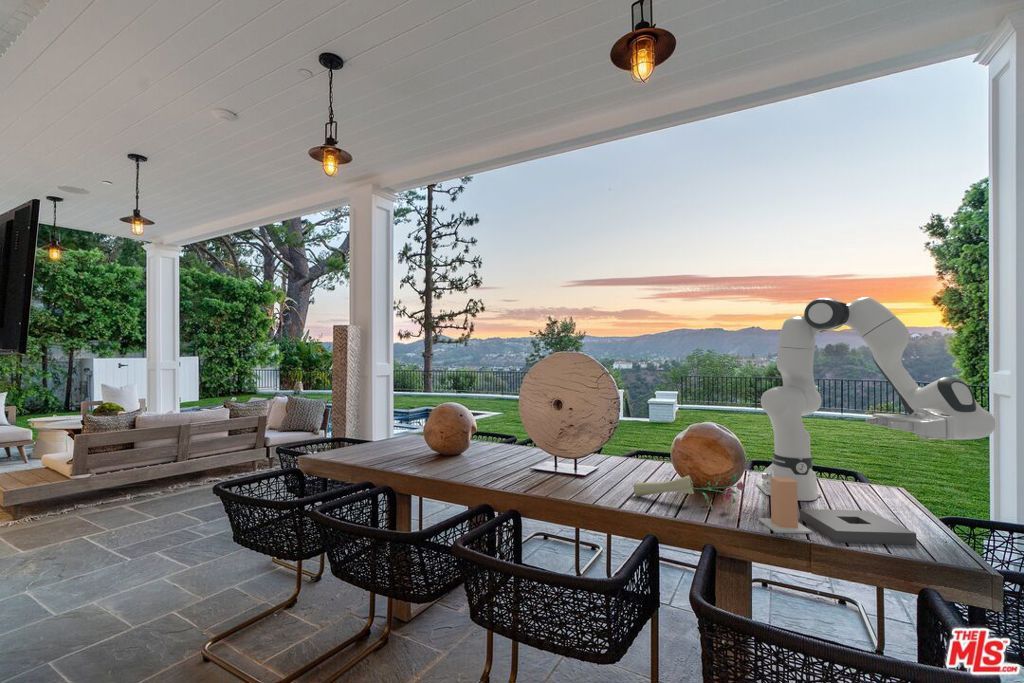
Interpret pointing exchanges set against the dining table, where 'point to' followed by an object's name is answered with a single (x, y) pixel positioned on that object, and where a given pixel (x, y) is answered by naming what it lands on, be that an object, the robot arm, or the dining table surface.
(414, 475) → the dining table surface
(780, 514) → the peg
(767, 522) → the mat
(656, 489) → the flower vase
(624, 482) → the dining table surface
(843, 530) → the holder
